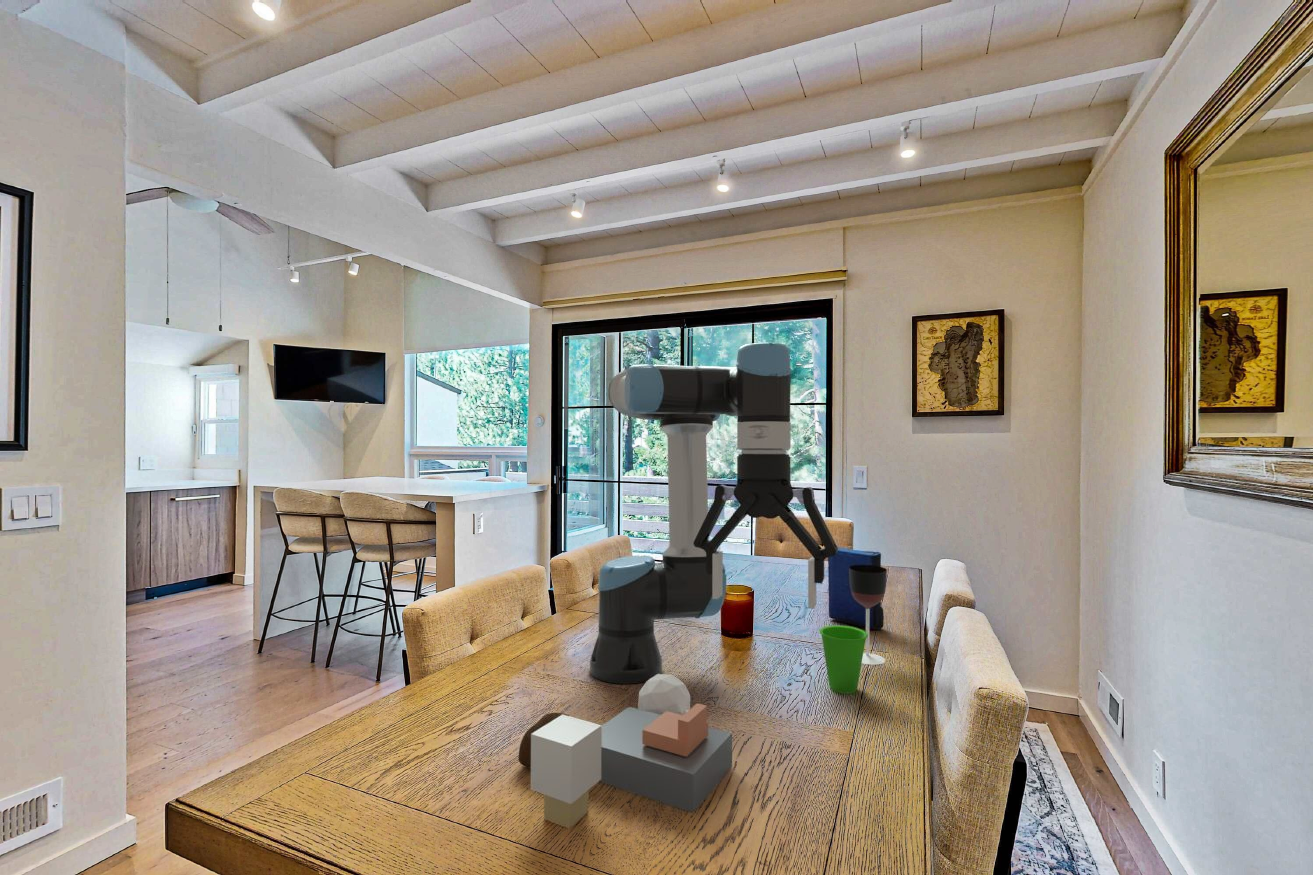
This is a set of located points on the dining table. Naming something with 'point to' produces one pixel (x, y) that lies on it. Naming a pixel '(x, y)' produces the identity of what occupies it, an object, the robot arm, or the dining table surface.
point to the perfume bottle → (664, 695)
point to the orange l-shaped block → (678, 731)
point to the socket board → (661, 762)
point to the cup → (843, 656)
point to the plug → (565, 767)
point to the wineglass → (868, 597)
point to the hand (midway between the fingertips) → (763, 601)
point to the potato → (526, 741)
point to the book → (840, 591)
